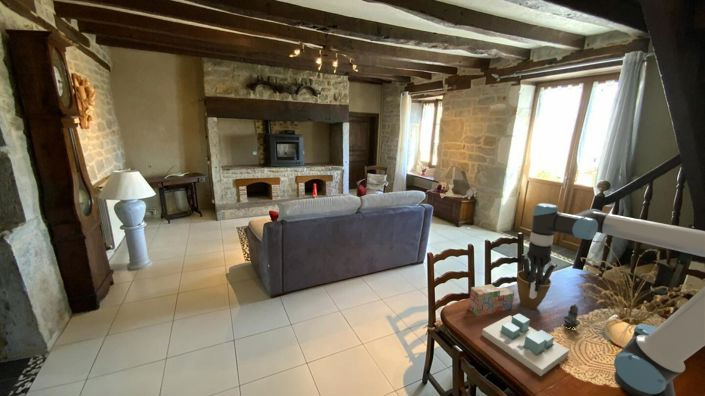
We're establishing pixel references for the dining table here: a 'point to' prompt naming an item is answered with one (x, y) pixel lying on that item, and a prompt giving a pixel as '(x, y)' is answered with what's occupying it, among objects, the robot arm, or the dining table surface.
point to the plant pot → (525, 291)
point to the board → (522, 354)
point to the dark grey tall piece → (571, 317)
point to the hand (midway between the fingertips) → (532, 297)
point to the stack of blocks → (490, 299)
